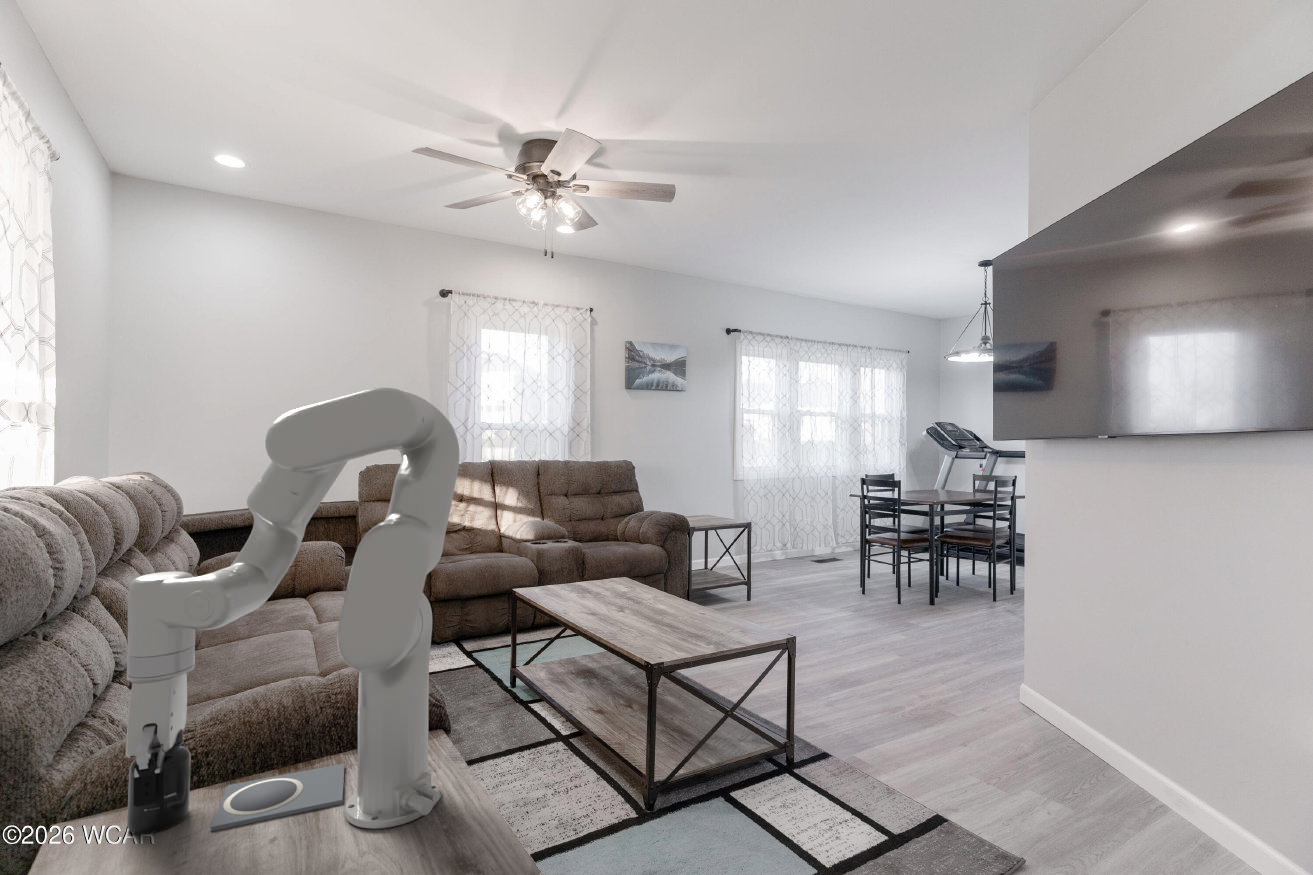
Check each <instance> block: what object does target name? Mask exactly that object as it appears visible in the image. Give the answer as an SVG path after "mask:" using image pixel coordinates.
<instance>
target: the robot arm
mask: <svg viewBox="0 0 1313 875" xmlns="http://www.w3.org/2000/svg"><path fill="white" fill-rule="evenodd" d="M458 440H459V439H458V436H457V433H456V431H455V428H454V427H453V425H452V423H451V422H450V420H449V419H448V418H447V417H446V415H444V413H443V412H441V410H440V409H438V408H437V407H436V406H435V405H433V404H432V403H430V402H429V401H428V400H426V399H424V398H422V397H420V396H419V395H417V394H414V393H411V392H407V391H404V390H400V389H398V388H395V387H394V388H392V387H377V388H376V387H374V388H371V389H366V390H362V391H358V392H355V393H351V394H348V395H343V396H339V397H337V398H333V399H329V400H325V401H320V402H317V403H313V404H309V405H306V406H302V407H299V408H296V409H292V410H289V411H287V412H285V413H283V414H282V415H281V416H279V417H277V419H275V420H274V421H273V423H272V424H271V425H270V426H269V428H268V431H267V433H266V435H265V443H264V444H265V450H266V453H267V455H268V457H269V459H270V460H271V463H270V464H269V465H268V467H267V468H266V470H265V471H264V472H263V474H262V475H261V477H260V478H259V479H258V481H257V483H256V484H255V485H254V487H253V488H252V490H251V491H250V493H249V495H248V496H247V498H246V499H247V500H246V505H247V507H248V509H249V511H250V512H251V514H252V516H253V525H252V530H251V532H250V535H249V536H248V539H247V540H246V542H245V544H244V545H243V547H242V548H241V550H240V552H239V553H238V555H236V557H235V559H234V560H233V561H232V562H231V564H230V566H228V567H224V568H221V569H217V570H216V571H213V572H210V573H206V574H203V575H199V576H194V575H193V574H191V573H190V572H186V571H163V572H160V571H159V572H154V573H148V574H143V575H140V576H138V577H136V578H134V579H133V580H132V581H131V582H130V584H129V586H128V595H127V596H128V597H127V602H128V603H127V606H128V607H127V654H126V680H127V681H129V682H132V685H131V690H130V697H129V703H128V713H127V724H126V725H127V729H126V740H125V741H126V743H125V756H126V757H127V758H128V759H132V758H134V757H135V759H136V763H135V766H134V767H135V771H134V806H135V807H138V806H143V805H149V804H154V803H159V802H162V801H163V799H164V798H165V770H162V766H163V761H164V756H165V752H167V751H168V750H169V749H171V748H172V746H173V745H174V744H175V742H176V738H177V735H178V733H179V732H180V730H181V729H182V730H183V731H184V729H185V727H186V723H187V714H188V712H187V711H188V709H187V708H188V681H187V678H188V676H187V674H188V673H190V672H192V671H193V670H195V667H196V666H195V662H196V630H198V631H209V630H215V629H219V628H222V627H223V626H226V625H227V624H229V623H230V624H231V623H232V622H234V621H236V620H237V619H239V618H241V617H243V616H246V615H248V614H250V613H252V612H254V611H256V610H258V609H259V608H260V607H261V606H263V604H265V603H266V602H267V601H268V599H269V598H270V597H271V596H272V595H273V593H274V592H275V590H276V589H277V587H278V585H280V583H281V581H282V580H283V579H284V577H285V575H286V574H287V572H288V570H289V569H290V568H291V566H292V564H293V562H294V560H295V559H296V556H297V554H298V552H299V549H300V547H301V544H302V542H303V538H304V537H305V533H306V527H307V525H308V524H309V522H310V520H311V518H312V517H313V515H314V513H315V512H316V511H317V509H318V508H319V506H320V505H321V503H322V501H323V500H324V499H325V497H326V496H327V494H328V492H329V491H330V489H331V488H332V486H333V484H334V483H335V482H336V481H337V479H338V478H339V475H340V474H341V473H342V471H343V469H344V468H345V467H346V465H347V463H348V462H349V461H350V460H351V461H352V460H355V459H359V458H362V457H365V456H369V455H373V454H377V453H380V452H385V451H389V450H395V451H397V450H398V451H399V452H400V457H401V458H400V459H401V460H400V466H399V468H398V471H397V474H396V476H395V479H394V483H393V487H392V491H391V497H390V501H389V505H388V509H387V511H386V516H385V519H384V520H383V521H381V522H379V523H378V524H376V525H374V526H373V527H372V528H370V529H369V530H368V531H367V532H366V533H365V535H364V536H363V538H362V539H361V540H360V542H359V544H358V546H357V549H356V552H355V554H354V557H353V560H352V564H351V567H350V568H351V569H350V572H349V577H348V581H347V585H346V590H345V594H344V599H343V603H342V607H341V611H340V615H339V619H338V625H337V631H336V643H337V649H338V652H339V656H340V657H341V658H342V660H343V661H344V663H346V665H348V666H349V667H350V668H351V669H353V670H354V671H357V672H359V676H358V689H357V690H358V691H357V692H358V695H357V697H358V700H357V701H358V702H357V703H358V704H357V791H355V792H354V793H353V794H352V795H351V796H350V797H349V798H348V799H347V800H346V803H345V807H344V814H345V815H344V816H345V818H346V820H347V822H348V823H350V824H351V825H353V826H356V827H359V828H362V829H363V828H364V829H373V830H375V829H386V828H387V829H388V828H392V827H397V826H400V825H405V824H407V823H410V822H413V821H415V820H417V819H419V818H421V817H422V816H427V815H428V814H430V812H432V810H433V808H434V807H435V806H436V804H437V803H438V801H439V800H440V799H441V796H442V795H441V792H440V788H439V785H438V783H437V782H436V781H435V780H433V779H432V773H430V772H429V693H430V689H429V688H430V656H431V655H430V654H431V646H432V645H431V644H432V636H433V634H432V633H433V612H432V607H431V603H430V601H429V599H428V598H427V596H426V594H425V593H424V588H425V583H426V579H427V576H428V574H429V573H430V572H432V571H433V570H434V569H435V568H436V566H437V565H438V564H439V562H440V560H441V557H442V555H443V550H444V544H445V539H446V538H445V537H446V532H447V527H448V525H449V524H448V522H449V519H450V514H451V509H452V503H453V500H454V499H453V497H454V495H455V494H454V493H455V488H456V483H457V478H458V472H459V466H460V459H461V458H460V445H459V441H458ZM156 733H157V734H156ZM155 746H161V747H159V748H153V749H151V748H152V747H155ZM181 746H183V747H184V739H183V744H182V745H181ZM155 755H158V756H157V762H155V760H154V758H150V757H151V756H155Z"/></svg>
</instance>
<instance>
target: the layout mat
mask: <svg viewBox="0 0 1313 875" xmlns="http://www.w3.org/2000/svg"><path fill="white" fill-rule="evenodd" d="M344 777H345V763H339V764H335V765H330V766H324V767H319V768H313V769H312V768H311V769H307V770H303V771H298V772H290V773H284V774H280V775H274V776H270V777H265V778H259V779H254V780H248V781H243V782H238V783H233V784H227V786H226V789H225V791H224V793H223V796H222V798H221V801H220V803H219V806H218V808H217V811H216V813H215V816H214V818H213V821H212V823H211V826H210V832H215V831H220V830H223V829H224V830H225V829H229V828H233V827H237V826H238V827H239V826H243V825H248V824H252V823H258V822H261V821H262V822H263V821H266V820H271V819H278V818H281V817H286V816H291V815H295V814H300V813H304V812H310V811H315V810H319V809H325V808H330V807H333V806H340V805H343V799H344V783H345V782H344V780H345V778H344Z"/></svg>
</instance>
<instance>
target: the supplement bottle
mask: <svg viewBox="0 0 1313 875" xmlns="http://www.w3.org/2000/svg"><path fill="white" fill-rule="evenodd" d="M156 734H157V733H156ZM183 740H184V729H183V730H182V729H181V730H180V732H179V733H178V735H177V738H176V742H175V744H174V745H173V746H172V748H171V749H169V750H168V751H167V752H165V756H164V761H163V766H162V770H165V798H164V799H163V801H162V802H159V803H154V804H149V805H143V806H138V807H135V806H134V771H135V767H134V766H135V763H136V758H134V759H133V761H132V762H131V764H130V766H129V770H128V771H129V773H128V790H127V791H128V794H127V795H128V796H127V799H128V800H127V815H126V816H127V825H126V826H127V829H128V830H129V831H130V832H131V833H132V834H138V835H143V834H146V835H147V834H152V833H157V832H161V831H164V830H167V829H169V828H171V827H173V826H176V825H177V824H179V823H180V822H181V821H183V820H184V819H185V818H186V816H188V814H189V810H190V794H191V793H190V789H191V787H190V786H191V765H192V764H191V762H192V760H191V759H192V758H191V757H192V756H191V751H190V750H189V749H188V748H187V747H185V746H184V745H183V746H181V745H182V744H183ZM159 747H161V746H155V747H152V748H151V749H153V748H159ZM157 756H158V755H155V756H151V757H150V758H154V760H155V762H157Z"/></svg>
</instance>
